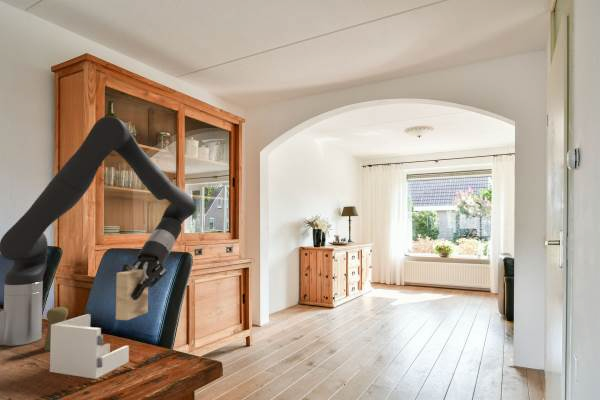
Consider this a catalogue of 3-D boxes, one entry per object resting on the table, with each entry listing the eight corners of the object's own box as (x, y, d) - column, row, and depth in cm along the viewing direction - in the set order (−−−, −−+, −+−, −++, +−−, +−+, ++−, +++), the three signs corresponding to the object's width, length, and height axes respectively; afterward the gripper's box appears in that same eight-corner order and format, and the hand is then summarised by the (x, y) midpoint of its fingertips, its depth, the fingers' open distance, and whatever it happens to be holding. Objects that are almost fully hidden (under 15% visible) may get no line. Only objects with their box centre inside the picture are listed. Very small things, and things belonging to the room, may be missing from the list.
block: (137, 311, 106) (137, 268, 106) (147, 312, 105) (148, 269, 105) (115, 319, 98) (116, 272, 99) (126, 320, 97) (127, 273, 98)
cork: (57, 351, 103) (57, 310, 103) (38, 349, 104) (39, 309, 104) (74, 344, 109) (75, 305, 109) (56, 342, 110) (57, 304, 110)
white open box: (86, 356, 99) (86, 314, 100) (132, 362, 95) (132, 318, 95) (49, 371, 89) (50, 324, 90) (99, 379, 85) (100, 330, 85)
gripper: (131, 239, 111) (97, 288, 99) (172, 240, 107) (142, 291, 95) (143, 255, 116) (112, 304, 104) (183, 256, 112) (156, 307, 100)
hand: (127, 297), depth 100 cm, fingers closed on block, 3 cm apart
